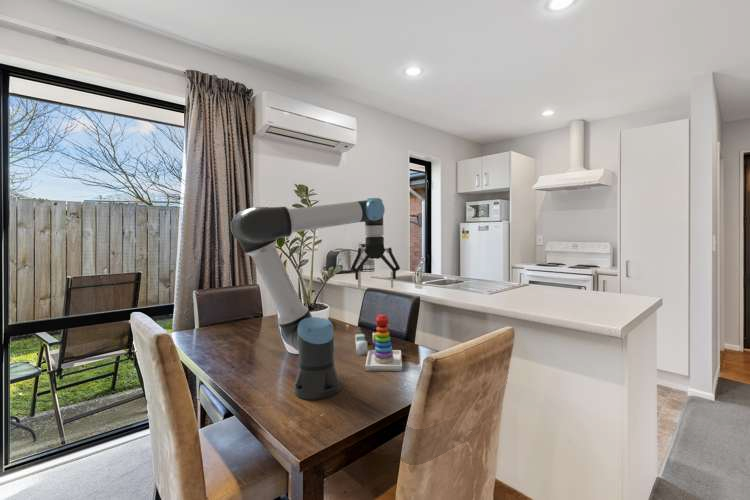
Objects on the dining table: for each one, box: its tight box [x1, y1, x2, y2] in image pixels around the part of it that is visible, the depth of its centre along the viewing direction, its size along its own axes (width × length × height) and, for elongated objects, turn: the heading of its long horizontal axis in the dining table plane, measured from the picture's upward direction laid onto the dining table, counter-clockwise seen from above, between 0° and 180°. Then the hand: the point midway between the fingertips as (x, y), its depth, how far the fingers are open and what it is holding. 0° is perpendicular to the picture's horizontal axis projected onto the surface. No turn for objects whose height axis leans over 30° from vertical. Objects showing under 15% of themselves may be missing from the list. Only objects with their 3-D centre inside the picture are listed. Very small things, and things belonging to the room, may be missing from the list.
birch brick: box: [372, 332, 376, 344], centre depth 172 cm, size 6×4×4 cm, turn 96°
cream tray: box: [364, 349, 403, 372], centre depth 144 cm, size 14×18×2 cm
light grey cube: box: [355, 340, 369, 356], centre depth 155 cm, size 5×5×5 cm
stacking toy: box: [374, 314, 394, 363], centre depth 143 cm, size 8×8×19 cm
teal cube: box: [354, 333, 366, 344], centre depth 169 cm, size 4×4×4 cm
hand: (375, 287), depth 147 cm, fingers open, 13 cm apart
